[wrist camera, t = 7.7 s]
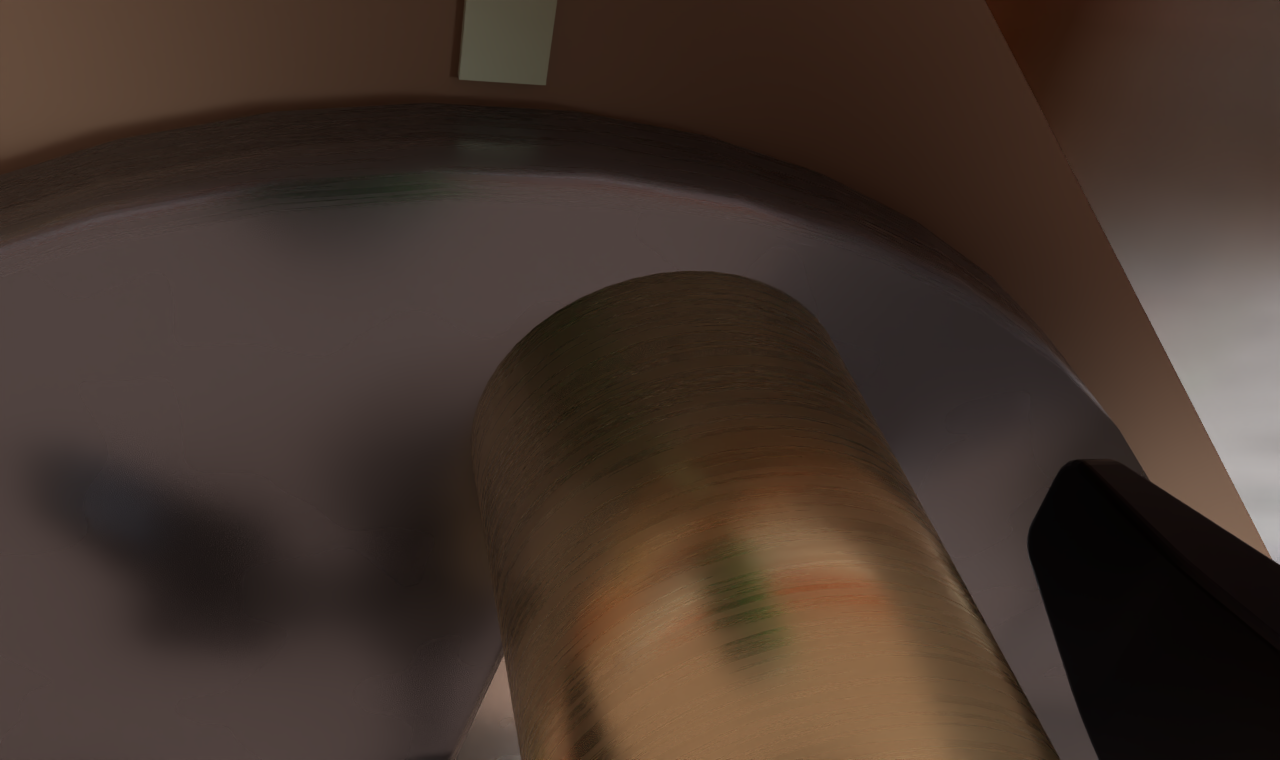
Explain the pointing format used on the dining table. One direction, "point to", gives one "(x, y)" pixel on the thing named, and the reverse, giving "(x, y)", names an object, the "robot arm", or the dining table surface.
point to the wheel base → (669, 98)
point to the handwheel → (513, 454)
